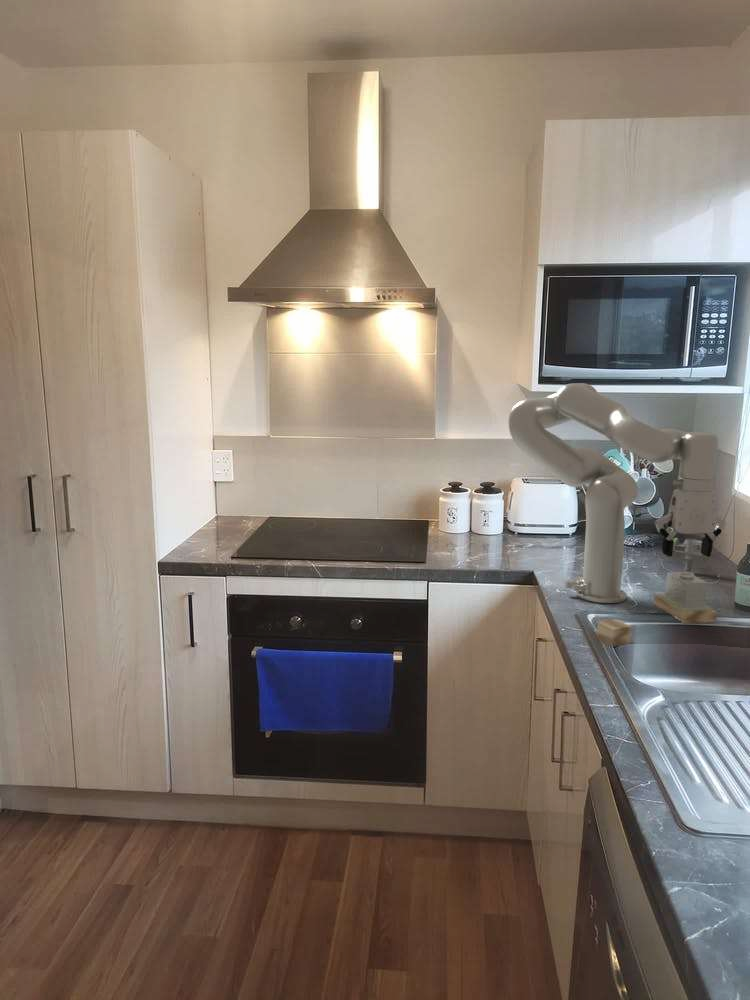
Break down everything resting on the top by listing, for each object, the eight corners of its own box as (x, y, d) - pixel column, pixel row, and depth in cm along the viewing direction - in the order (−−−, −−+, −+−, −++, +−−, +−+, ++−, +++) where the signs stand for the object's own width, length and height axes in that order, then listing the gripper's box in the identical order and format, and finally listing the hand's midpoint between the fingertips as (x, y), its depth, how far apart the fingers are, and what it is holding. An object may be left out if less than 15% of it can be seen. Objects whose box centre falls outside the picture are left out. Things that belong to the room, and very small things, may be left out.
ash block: (612, 647, 152) (613, 629, 152) (596, 639, 157) (597, 621, 156) (630, 644, 154) (631, 626, 154) (614, 636, 159) (615, 618, 158)
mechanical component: (671, 569, 211) (674, 536, 210) (707, 575, 205) (711, 542, 203) (667, 571, 209) (670, 538, 207) (704, 578, 203) (708, 543, 201)
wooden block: (683, 623, 167) (684, 611, 166) (654, 603, 180) (654, 592, 180) (715, 622, 167) (716, 610, 167) (684, 602, 181) (685, 591, 181)
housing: (665, 595, 177) (667, 568, 176) (684, 594, 178) (686, 567, 177) (684, 607, 169) (687, 578, 167) (704, 606, 169) (707, 578, 168)
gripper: (668, 487, 164) (659, 559, 167) (738, 488, 165) (729, 559, 169) (652, 481, 171) (644, 550, 174) (720, 482, 173) (711, 550, 176)
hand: (686, 555), depth 172 cm, fingers open, 9 cm apart
